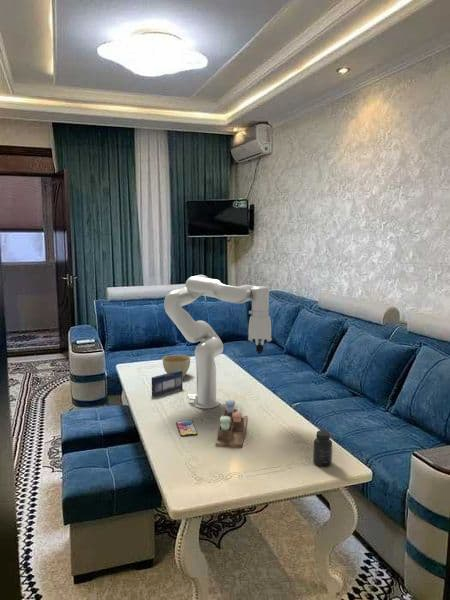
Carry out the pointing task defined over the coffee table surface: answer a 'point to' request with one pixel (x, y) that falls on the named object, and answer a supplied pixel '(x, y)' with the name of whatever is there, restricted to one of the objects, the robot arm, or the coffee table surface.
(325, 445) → the supplement bottle
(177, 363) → the planter bowl
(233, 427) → the button board
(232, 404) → the button slate
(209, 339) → the robot arm
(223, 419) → the button sage
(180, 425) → the smartphone
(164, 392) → the vhs cassette tape
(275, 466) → the coffee table surface
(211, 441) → the coffee table surface
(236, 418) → the button terracotta
